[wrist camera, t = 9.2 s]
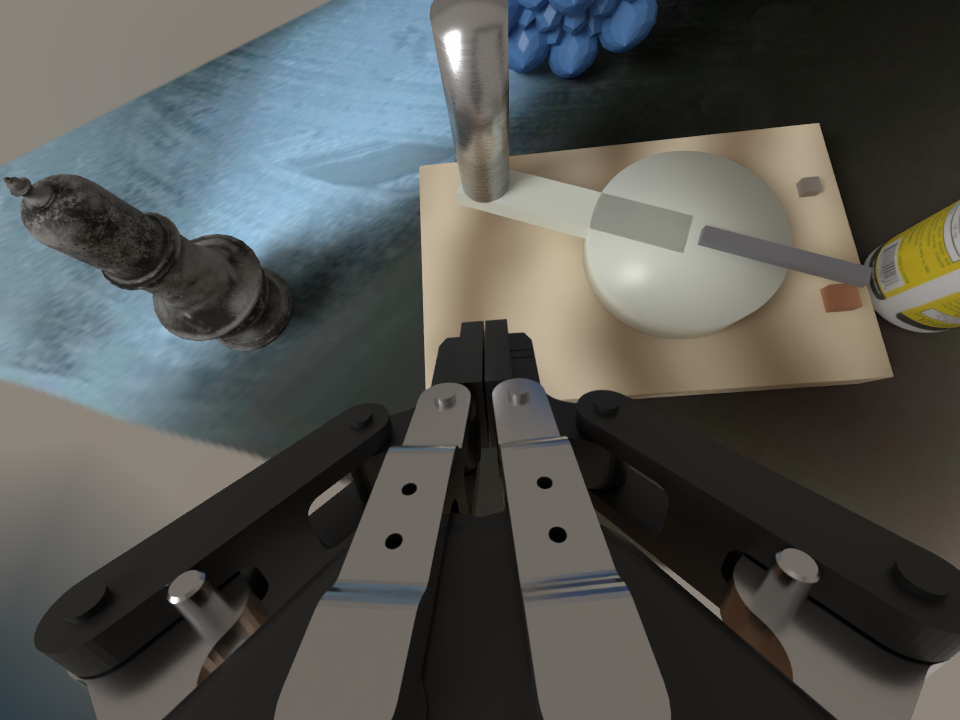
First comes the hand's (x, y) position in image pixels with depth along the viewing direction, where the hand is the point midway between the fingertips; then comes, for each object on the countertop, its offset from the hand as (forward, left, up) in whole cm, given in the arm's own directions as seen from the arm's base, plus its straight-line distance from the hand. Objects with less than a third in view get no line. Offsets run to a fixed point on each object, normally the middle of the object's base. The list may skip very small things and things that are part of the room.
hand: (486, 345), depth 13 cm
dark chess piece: (+15, -6, -9) cm, 18 cm away
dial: (-8, -7, -7) cm, 12 cm away
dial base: (-7, -6, -9) cm, 13 cm away
